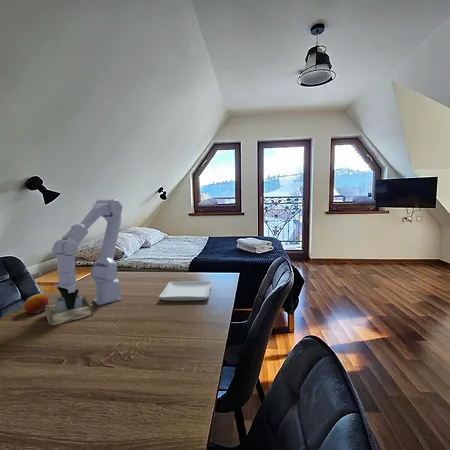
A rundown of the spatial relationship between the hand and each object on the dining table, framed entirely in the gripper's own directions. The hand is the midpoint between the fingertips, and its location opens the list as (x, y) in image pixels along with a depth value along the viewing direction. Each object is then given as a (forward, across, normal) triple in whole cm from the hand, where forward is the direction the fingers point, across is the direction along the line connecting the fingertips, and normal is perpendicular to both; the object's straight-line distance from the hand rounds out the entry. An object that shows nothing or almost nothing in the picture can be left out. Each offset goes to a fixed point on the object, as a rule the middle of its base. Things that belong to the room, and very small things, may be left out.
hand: (69, 306), depth 103 cm
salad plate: (+4, +10, +46) cm, 47 cm away
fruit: (+4, -13, -9) cm, 16 cm away
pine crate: (+3, 0, 0) cm, 3 cm away
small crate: (+2, 0, 0) cm, 2 cm away
